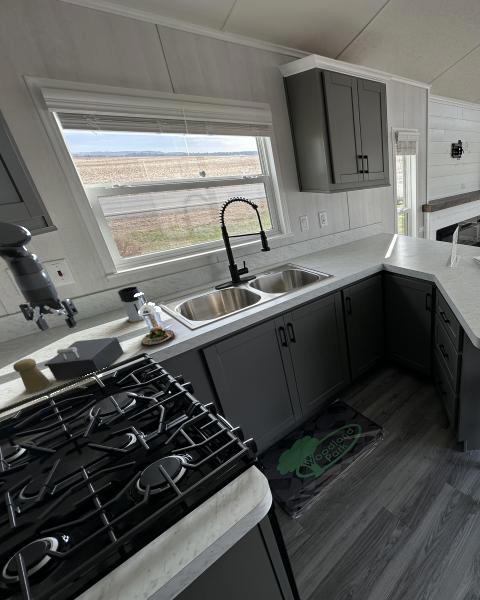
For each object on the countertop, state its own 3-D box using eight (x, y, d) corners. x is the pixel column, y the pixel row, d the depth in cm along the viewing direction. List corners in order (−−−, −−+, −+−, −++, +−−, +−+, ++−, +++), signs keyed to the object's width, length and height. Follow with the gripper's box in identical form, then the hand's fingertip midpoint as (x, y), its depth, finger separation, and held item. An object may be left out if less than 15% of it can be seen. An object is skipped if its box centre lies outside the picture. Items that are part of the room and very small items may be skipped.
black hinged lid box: (100, 375, 121) (92, 359, 118) (56, 380, 119) (46, 365, 116) (124, 352, 134) (117, 338, 131) (84, 357, 132) (77, 343, 129)
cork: (52, 384, 117) (36, 359, 112) (29, 394, 112) (11, 368, 107) (47, 379, 120) (32, 354, 115) (24, 388, 115) (7, 363, 110)
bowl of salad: (135, 348, 136) (128, 333, 133) (154, 333, 147) (148, 319, 144) (164, 347, 136) (158, 331, 133) (181, 332, 147) (175, 317, 144)
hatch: (90, 361, 117) (84, 349, 115) (45, 366, 115) (37, 354, 113) (117, 338, 131) (112, 327, 129) (76, 342, 129) (70, 332, 127)
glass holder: (141, 312, 168) (130, 285, 161) (162, 315, 163) (151, 288, 157) (124, 320, 160) (111, 292, 154) (145, 323, 156) (132, 295, 149)
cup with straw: (173, 327, 151) (157, 288, 143) (153, 337, 144) (136, 296, 135) (160, 324, 154) (144, 285, 146) (141, 334, 147) (123, 294, 138)
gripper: (0, 291, 102) (27, 336, 109) (50, 287, 104) (74, 331, 111) (21, 283, 109) (45, 325, 116) (68, 279, 111) (89, 321, 118)
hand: (59, 328), depth 113 cm, fingers open, 8 cm apart
